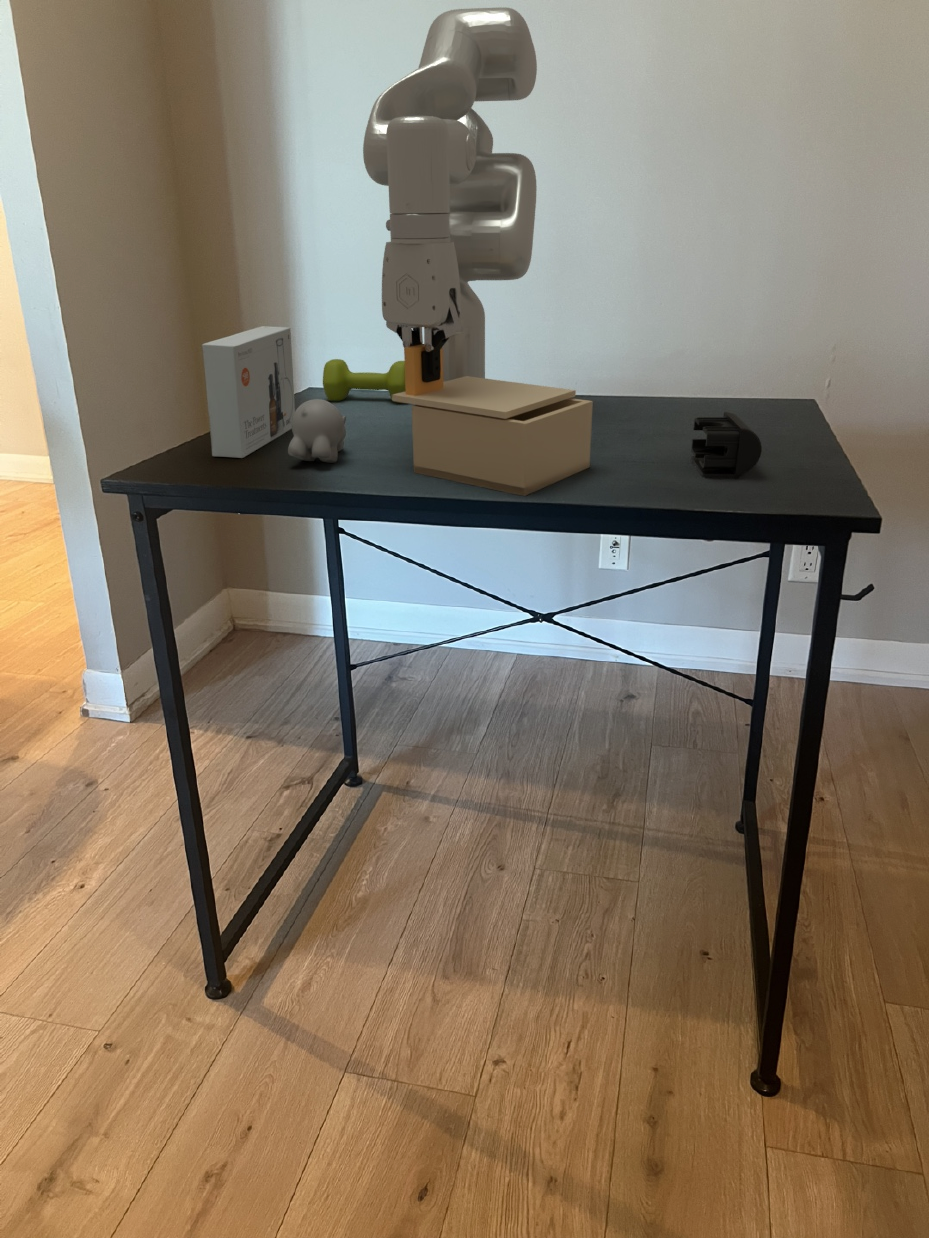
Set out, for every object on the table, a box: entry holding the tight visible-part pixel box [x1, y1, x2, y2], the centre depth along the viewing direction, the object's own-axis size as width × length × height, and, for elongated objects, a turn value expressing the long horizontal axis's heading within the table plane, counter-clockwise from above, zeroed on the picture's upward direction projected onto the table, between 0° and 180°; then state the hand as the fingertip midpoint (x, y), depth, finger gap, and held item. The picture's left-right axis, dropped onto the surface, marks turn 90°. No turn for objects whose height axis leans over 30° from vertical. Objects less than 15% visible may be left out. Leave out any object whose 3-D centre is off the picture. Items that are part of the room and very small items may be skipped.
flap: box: [391, 343, 577, 419], centre depth 117 cm, size 16×18×7 cm
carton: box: [411, 397, 594, 497], centre depth 119 cm, size 16×18×9 cm
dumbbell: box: [322, 358, 406, 404], centre depth 162 cm, size 16×8×7 cm, turn 78°
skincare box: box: [201, 325, 296, 459], centre depth 133 cm, size 21×5×16 cm, turn 168°
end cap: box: [690, 411, 763, 479], centre depth 119 cm, size 10×7×7 cm
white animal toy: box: [287, 398, 347, 464], centre depth 126 cm, size 7×12×8 cm, turn 162°
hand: (424, 379), depth 118 cm, fingers closed on flap
